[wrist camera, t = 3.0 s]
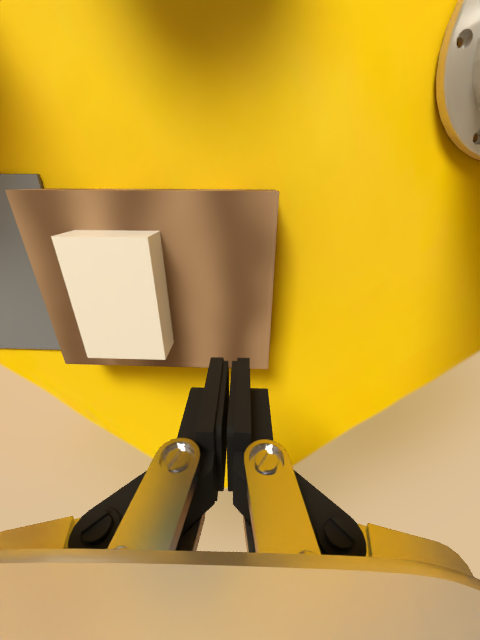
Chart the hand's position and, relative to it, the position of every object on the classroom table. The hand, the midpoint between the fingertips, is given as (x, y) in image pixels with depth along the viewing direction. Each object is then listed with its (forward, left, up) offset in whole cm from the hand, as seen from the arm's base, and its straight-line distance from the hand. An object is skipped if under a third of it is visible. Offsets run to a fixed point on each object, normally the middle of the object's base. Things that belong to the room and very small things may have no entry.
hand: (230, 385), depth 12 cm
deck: (+7, 0, -14) cm, 15 cm away
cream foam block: (+9, 0, -10) cm, 13 cm away
